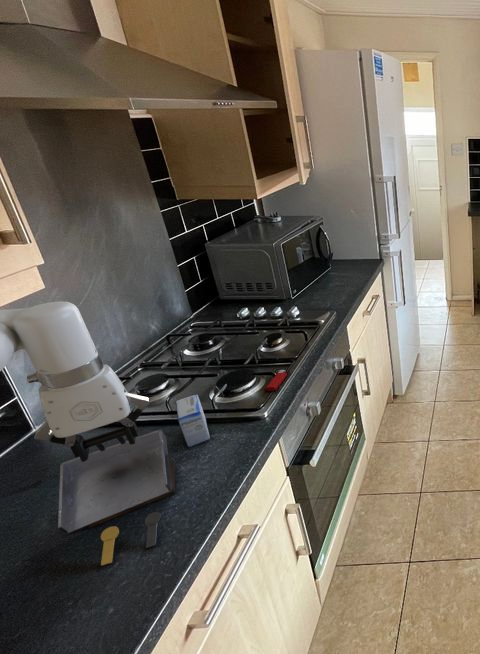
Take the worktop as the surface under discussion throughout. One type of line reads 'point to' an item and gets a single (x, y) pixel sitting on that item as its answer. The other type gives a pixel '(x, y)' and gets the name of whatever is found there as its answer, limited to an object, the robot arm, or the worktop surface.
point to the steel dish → (112, 478)
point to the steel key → (152, 528)
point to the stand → (172, 473)
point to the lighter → (276, 380)
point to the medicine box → (192, 420)
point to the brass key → (108, 544)
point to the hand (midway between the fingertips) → (110, 447)
